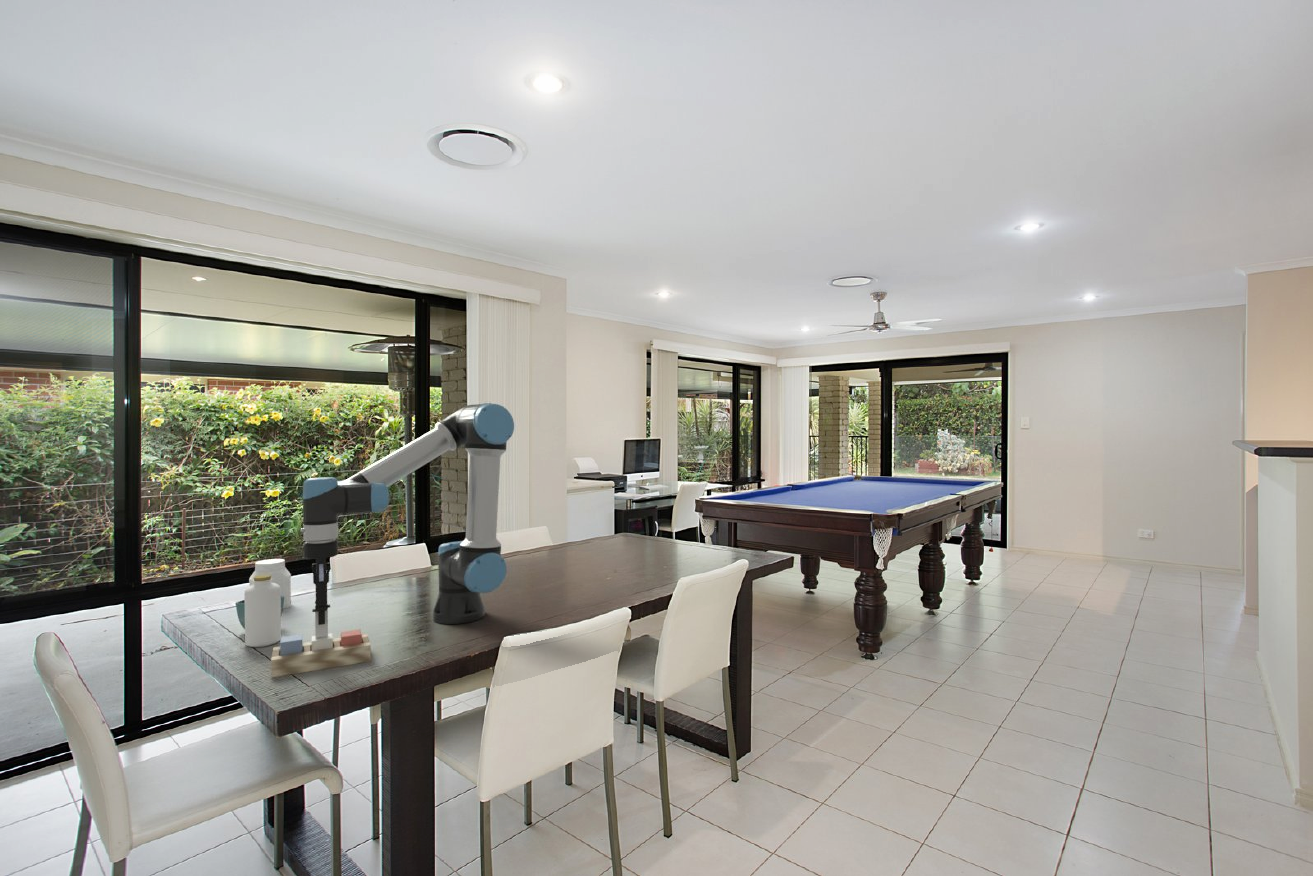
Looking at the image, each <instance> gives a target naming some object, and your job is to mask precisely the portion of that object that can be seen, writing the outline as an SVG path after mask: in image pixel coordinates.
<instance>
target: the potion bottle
mask: <svg viewBox="0 0 1313 876" xmlns="http://www.w3.org/2000/svg"><path fill="white" fill-rule="evenodd" d="M271 581H272V578H271V575H259V576H255V577H254V580H253V583H254V584H253V585H251V586H250V585H249V586H248V587H246V588H245V590H244V594H243V595H244V599H243V600H244V601H245V629H244V643H245V645H246V646H248V647H251V648H261V647H262V648H263V647H267V646H271V645H274V644H276V643H278V642H279V641H281V637H282V615H281V589H280V586H279V585H278V584H275V583H272V582H271Z"/></svg>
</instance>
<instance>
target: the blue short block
mask: <svg viewBox="0 0 1313 876" xmlns="http://www.w3.org/2000/svg"><path fill="white" fill-rule="evenodd" d="M279 641H280V642H279V644H280V656H282V655H288V654H295V653H302V652H303V643H304V642H303V634H296V635H295V634H294V635H289V636H281V639H280V640H279Z"/></svg>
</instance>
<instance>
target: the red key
mask: <svg viewBox="0 0 1313 876" xmlns="http://www.w3.org/2000/svg"><path fill="white" fill-rule="evenodd" d="M340 638H341V646H348V645H355V644H361V643H362V631H361V628H360V629H353V630H346V631H340Z"/></svg>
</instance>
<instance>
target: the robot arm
mask: <svg viewBox="0 0 1313 876" xmlns="http://www.w3.org/2000/svg"><path fill="white" fill-rule="evenodd" d="M514 432H515V422H514V418H513V416H512V414H511V413H510V412H509V410H508V409H507V408H506V407H504V406H503V405H500V404H497V403H491V402H489V403H488V402H487V403H486V402H485V403H479V404H470V405H466V406H463V407H462V408H459V409H457V410H456V411H455V412H453V413H451V414H449V415H448V416H446V417H444V418H443V419H442V420H440V421H438V422H436V423H435V425H434V428H433V429H431V430H430V431H428V432H426V433H424V434H423V435H421V436H420V437H417V438H416V439H414V440H412V441H410V442H409V443H407V444H405V445H404V446H402V447H400V448H398V449H397V450H395V451H394V452H392V453H389V454H388V455H386V456H384V457H383V458H380V460H379V459H378V460H377V461H375V462H374V463H372V464H371V465H369V466H368V467H365V468H364V469H363V470H361V471H358V472H357V473H355V474H354V475H352V476H350V477H349V478H347V479H345V478H344V479H340V480H338V479H337V478H336V477H334V476H333V477H330V476H329V477H328V476H324V477H310V478H306V479H305V480H304V481H303V486H302V497H301V499H302V522H303V524H302V525H303V526H302V527H301V528H300V530H299V531H300V533H302V534H303V539H302V540H303V541H305V542H303V545H302V547H303V549H302V550H303V552H302V555H303V558H304V559H307V560H313V559H314V560H315V563H312V564H311V573H312V581H313V584H314V586H315V601H314V604H315V606H314V608H312V609H311V611H312V613H314V614H315V615H314V621H315V623H314V624H315V625H314V626H315V630H314V631H315V633H314V634H315V635H314V636H315V637H316V638H320V637H327V636H328V634H329V619H328V618H329V614H328V613H329V608H331V604H328V584H329V582H330V572H331V562H327V559H328V558H333V557H336V556H337V555H338V554H339V542H338V540H337V538H339V521H338V519H339V517H338V516H339V515H341V516H342V515H349V514H352V515H353V514H365V513H376V512H383V511H385V510H386V509H387V508H388V506H389V503H390V493H389V489H388V487H390V486H392V485H393V484H395V483H397V482H399V481H400V480H401V479H403V478H405V477H406V476H409V475H410V474H412V473H413V472H415V471H417V470H418V469H420V468H421V467H424V466H425V465H427V464H428V463H431V461H433V460H435V459H436V458H438V457H439V456H441V455H443V454H445V453H446V452H449V451H452V452H454V451H456V450H458V449H460V448H461V447H463V446H464V450H465V451H466V452H467V453H468V455H469V467H468V488H467V502H466V503H467V506H466V507H467V508H466V522H465V523H466V524H465V537H464V539H463V540H458V541H451V542H450V541H449V542H446V543H445V542H444V543H442V544H440V545H439V546H438V553H437V559H438V560H437V561H438V565H437V566H438V567H437V568H438V596H437V597H436V601H435V605H434V607H433V609H432V610H433V611H432V620H433V622H435V623H439V624H446V625H455V624H456V625H458V624H467V623H471V622H475V621H478V620H480V619H482V618H483V617H485V615H486V610H485V608H486V607H485V604H484V601H483V599H482V595H481V594H489V593H491V592H493V591H495V590H497V589H498V588H499V587H500V586H501V585H502V584H503V582H504V580H505V579H506V575H507V572H508V571H507V570H508V567H507V562H506V561H505V559H504V557H503V556H502V543H501V542H500V541H499V540H498V539H497V527H498V512H499V511H498V510H499V494H500V493H499V489H500V488H499V487H500V469H501V457H502V456H503V454H504V453H505V452H507V444H508V443H507V442H508V441H509V440H510V438H512V436H513V435H514Z"/></svg>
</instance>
